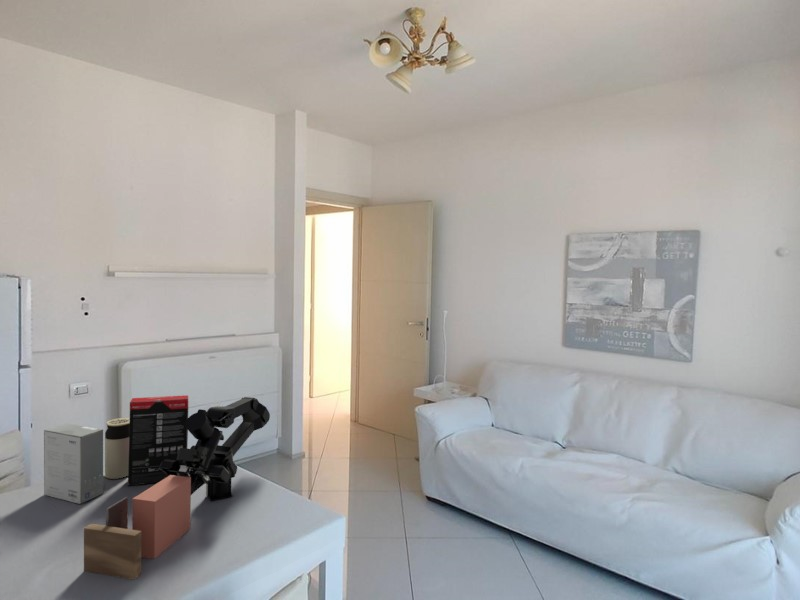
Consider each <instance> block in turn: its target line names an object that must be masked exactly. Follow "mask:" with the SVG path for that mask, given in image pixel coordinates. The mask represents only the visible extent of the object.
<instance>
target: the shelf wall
mask: <svg viewBox="0 0 800 600" xmlns="http://www.w3.org/2000/svg"><path fill="white" fill-rule="evenodd" d="M83 571H84V572H88V573H94V574H99V575H104V576H105V575H106V576H111V577H112V576H113V577H118V578H124V579H129V580H137V578H139V577H140V575H142V557H141V531H138V530H132V529H131V528H128V529H124V528H117V527H111V526H106V525H104V524H103V525H102V524H96V523H89V524H88V525H87V526H85V527H83Z"/></svg>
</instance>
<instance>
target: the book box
mask: <svg viewBox="0 0 800 600" xmlns="http://www.w3.org/2000/svg"><path fill="white" fill-rule="evenodd" d="M191 496H192V495H191V477H184V476H176V475H170V476H168V477H166V478H165V479H163V480H162V481H160V482H156V483H155V484H154V485H152V486H150V487H149V488H147V489H145V490H144V491H142V492H141V493H139V494H138V495H136V496H134V497H133V498H132V509H131V510H132V521H131V522H132V529H131V530H138V531H141V558H147V559H153V560H155V559H157V557H158V556H160V555H161V554H162V553H164V551H166V549H168V548H170V547H171V546H172V545H173V544H174V543H175V542H176V541H178V540H179V539H180V538H181V537H182V536H184V534H185V533H187V532H188V531H189V530H191V509H192V508H191V507H192V506H191V500H192V497H191Z"/></svg>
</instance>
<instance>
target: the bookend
mask: <svg viewBox="0 0 800 600" xmlns="http://www.w3.org/2000/svg"><path fill="white" fill-rule="evenodd" d="M128 498H129V497H128V496H125V497H123V498H122V499H120V500H118V501H117V502H115V503H114V504H112V505H111V504H110V506H108V507H107V508H106V509H105V526H111V527H117V528H124V529H129V528H128V527H129V526H128V525H129V524H128V521H129V519H128V517H129V512H128V511H129V503H128V502H129V501H128Z"/></svg>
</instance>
